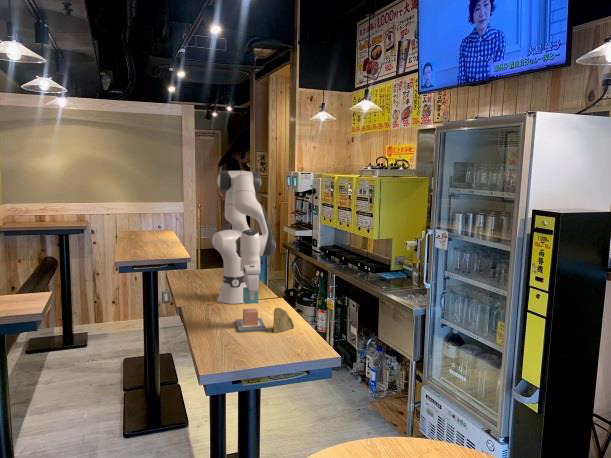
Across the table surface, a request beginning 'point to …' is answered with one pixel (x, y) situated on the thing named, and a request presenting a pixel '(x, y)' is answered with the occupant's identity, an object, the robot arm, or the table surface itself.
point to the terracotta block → (250, 317)
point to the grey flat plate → (250, 328)
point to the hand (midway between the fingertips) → (250, 297)
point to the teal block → (246, 296)
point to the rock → (281, 321)
